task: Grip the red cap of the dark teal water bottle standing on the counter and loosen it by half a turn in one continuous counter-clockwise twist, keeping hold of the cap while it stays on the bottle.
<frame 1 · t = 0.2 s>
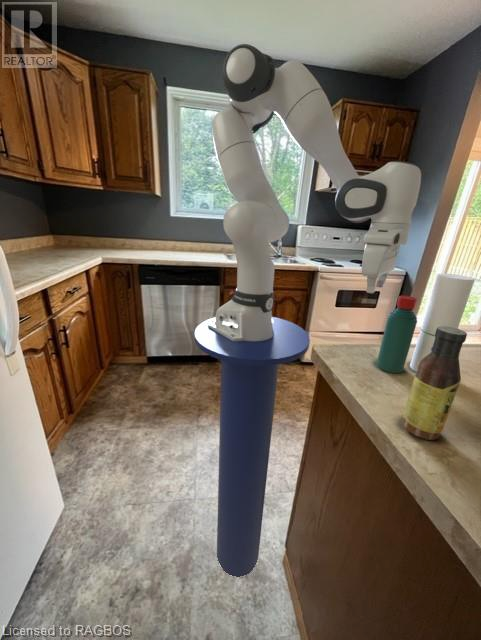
hand: (375, 289, 73), 19 cm above the countertop, tool pointing down, fingers open, 8 cm apart
water bottle: (389, 367, 73), on the countertop
cap: (407, 298, 66), point 19 cm above the countertop, screwed on, not yet turned
cylindrical container: (425, 370, 72), on the countertop
sauce bottle: (419, 429, 51), on the countertop
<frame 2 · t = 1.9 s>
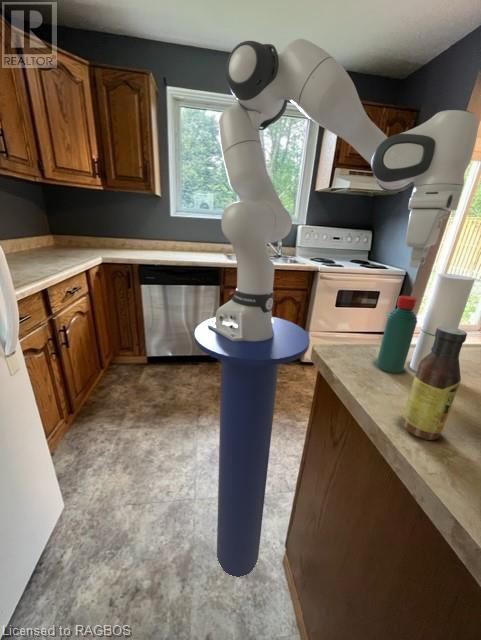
hand: (416, 266, 63), 27 cm above the countertop, tool pointing down, fingers open, 5 cm apart
nothing on the countertop moved.
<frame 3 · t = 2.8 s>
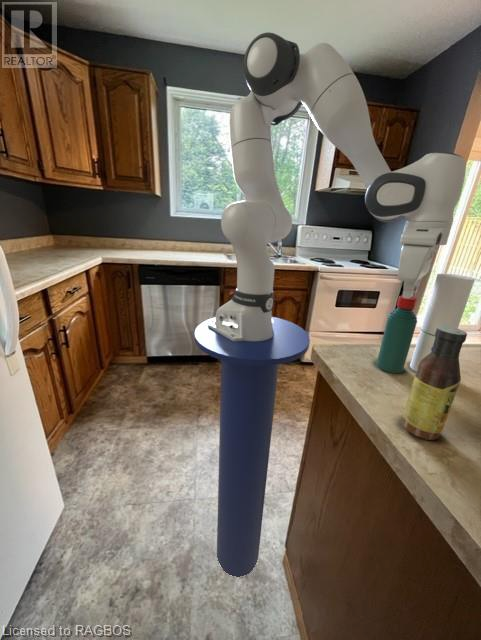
hand: (409, 295, 66), 20 cm above the countertop, tool pointing down, fingers open, 5 cm apart
nothing on the countertop moved.
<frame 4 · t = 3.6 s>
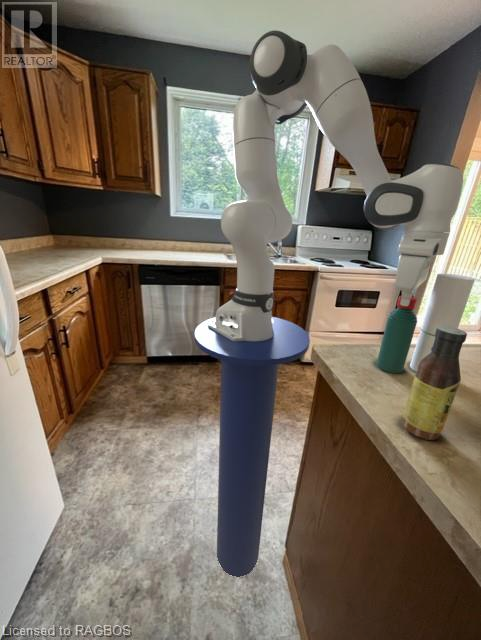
hand: (406, 303, 66), 18 cm above the countertop, tool pointing down, fingers closed on cap, 4 cm apart
cap: (407, 298, 66), point 19 cm above the countertop, screwed on, not yet turned, touching gripper
everything else where it was.
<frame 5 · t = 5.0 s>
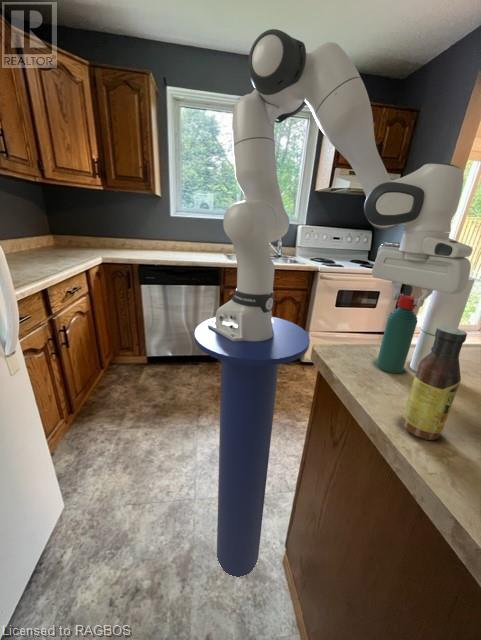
hand: (407, 303, 66), 18 cm above the countertop, tool pointing down, fingers closed on cap, 4 cm apart
cap: (408, 298, 66), point 19 cm above the countertop, turned 70° so far, risen 0.1 cm, still on its thread, touching gripper
everything else where it was.
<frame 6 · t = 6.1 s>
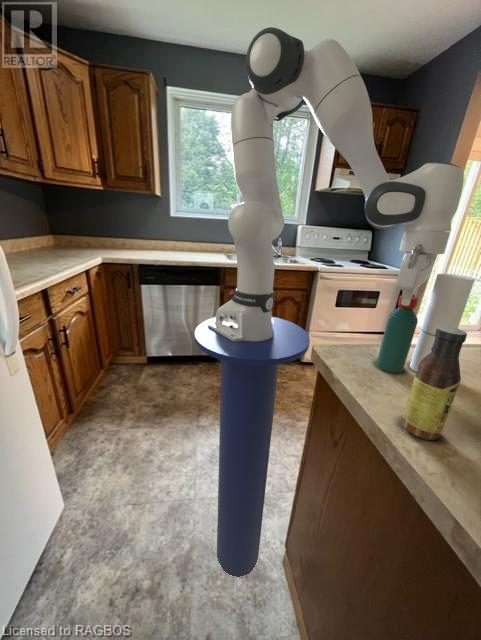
hand: (407, 302, 66), 18 cm above the countertop, tool pointing down, fingers closed on cap, 4 cm apart
cap: (408, 298, 66), point 19 cm above the countertop, turned 179° so far, risen 0.2 cm, still on its thread, touching gripper
everything else where it was.
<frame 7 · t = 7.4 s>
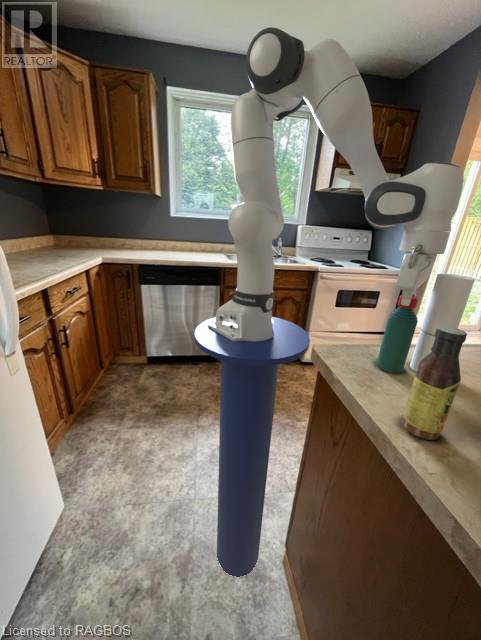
hand: (407, 302, 66), 18 cm above the countertop, tool pointing down, fingers closed on cap, 4 cm apart
cap: (408, 298, 66), point 19 cm above the countertop, turned 180° so far, risen 0.2 cm, still on its thread, touching gripper
everything else where it was.
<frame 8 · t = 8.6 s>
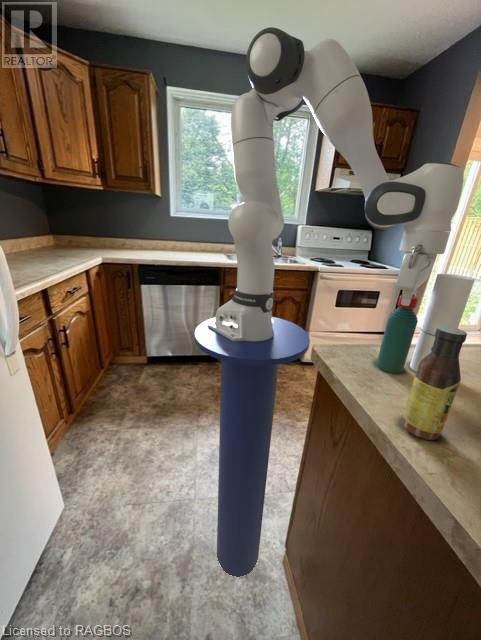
hand: (407, 302, 66), 18 cm above the countertop, tool pointing down, fingers closed on cap, 4 cm apart
cap: (408, 298, 66), point 19 cm above the countertop, turned 180° so far, risen 0.2 cm, still on its thread, touching gripper
everything else where it was.
at the end: cap turned 0.50 turns (still on its thread); cap is still on its thread (0.50 turns); water bottle tilted 0° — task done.
